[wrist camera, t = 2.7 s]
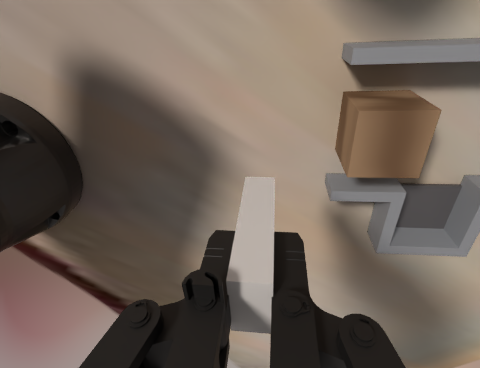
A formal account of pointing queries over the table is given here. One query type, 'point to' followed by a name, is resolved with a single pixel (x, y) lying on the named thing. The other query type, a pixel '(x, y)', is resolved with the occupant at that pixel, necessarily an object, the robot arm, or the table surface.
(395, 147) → the walnut block
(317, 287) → the table surface
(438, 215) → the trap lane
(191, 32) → the table surface
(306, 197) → the table surface
